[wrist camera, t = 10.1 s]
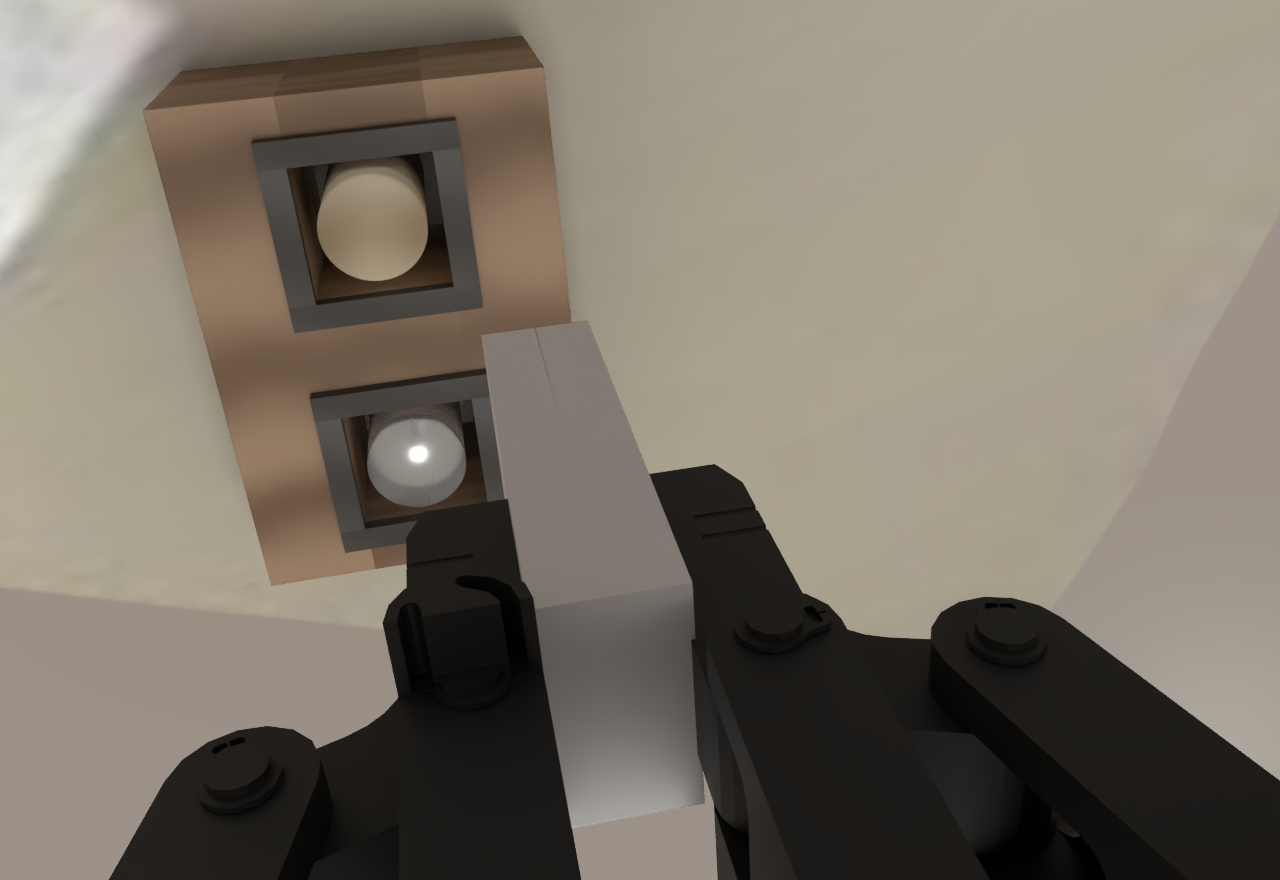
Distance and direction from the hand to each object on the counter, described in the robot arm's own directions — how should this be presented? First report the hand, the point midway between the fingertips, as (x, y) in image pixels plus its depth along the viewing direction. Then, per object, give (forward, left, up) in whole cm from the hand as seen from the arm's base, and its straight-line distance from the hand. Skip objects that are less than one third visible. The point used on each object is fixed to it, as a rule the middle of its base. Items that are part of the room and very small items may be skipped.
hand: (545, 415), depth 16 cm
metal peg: (+15, -4, -36) cm, 39 cm away
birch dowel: (+5, -4, -36) cm, 36 cm away
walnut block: (+10, -4, -36) cm, 38 cm away
